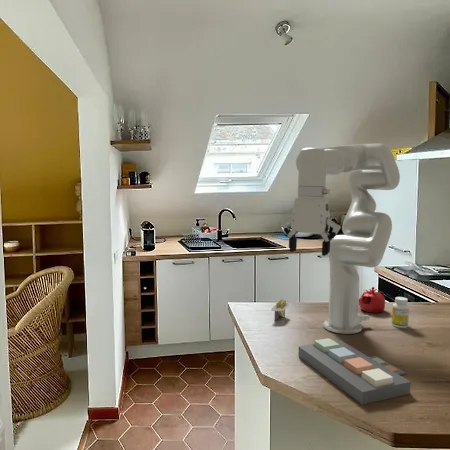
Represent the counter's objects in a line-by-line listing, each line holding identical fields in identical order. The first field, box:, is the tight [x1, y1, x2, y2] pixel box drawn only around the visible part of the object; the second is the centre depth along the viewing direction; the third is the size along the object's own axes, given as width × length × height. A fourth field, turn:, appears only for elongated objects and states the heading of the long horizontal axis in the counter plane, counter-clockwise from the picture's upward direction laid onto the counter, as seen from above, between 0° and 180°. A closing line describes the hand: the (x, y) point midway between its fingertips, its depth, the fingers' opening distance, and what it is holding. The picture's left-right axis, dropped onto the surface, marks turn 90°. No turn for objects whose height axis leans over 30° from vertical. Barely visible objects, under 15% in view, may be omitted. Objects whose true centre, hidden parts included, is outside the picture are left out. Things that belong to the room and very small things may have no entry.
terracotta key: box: [344, 357, 373, 375], centre depth 113 cm, size 5×5×3 cm
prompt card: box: [369, 355, 406, 376], centre depth 120 cm, size 5×11×1 cm, turn 21°
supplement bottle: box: [391, 296, 410, 329], centre depth 152 cm, size 5×5×10 cm
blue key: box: [328, 347, 355, 363], centre depth 119 cm, size 5×5×3 cm
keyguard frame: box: [297, 339, 411, 405], centre depth 116 cm, size 14×28×3 cm, turn 21°
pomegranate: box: [358, 286, 386, 314], centre depth 168 cm, size 10×10×9 cm
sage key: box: [313, 337, 339, 353], centre depth 126 cm, size 5×5×3 cm
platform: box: [270, 298, 289, 322], centre depth 159 cm, size 12×18×7 cm, turn 155°
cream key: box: [362, 368, 393, 388], centre depth 106 cm, size 5×5×3 cm
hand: (308, 253), depth 126 cm, fingers open, 9 cm apart
